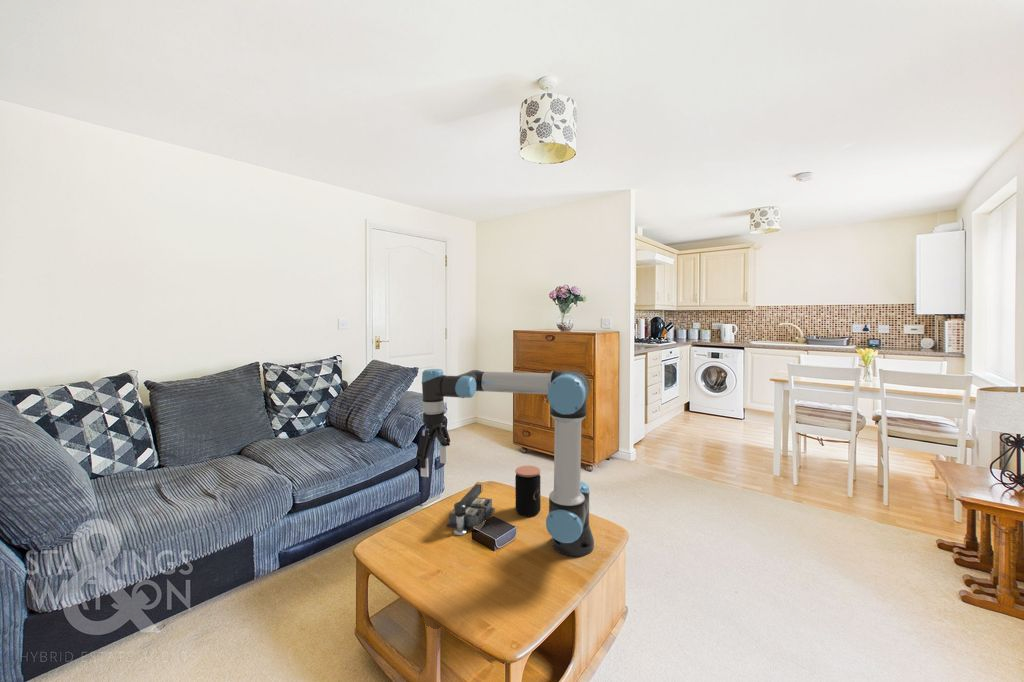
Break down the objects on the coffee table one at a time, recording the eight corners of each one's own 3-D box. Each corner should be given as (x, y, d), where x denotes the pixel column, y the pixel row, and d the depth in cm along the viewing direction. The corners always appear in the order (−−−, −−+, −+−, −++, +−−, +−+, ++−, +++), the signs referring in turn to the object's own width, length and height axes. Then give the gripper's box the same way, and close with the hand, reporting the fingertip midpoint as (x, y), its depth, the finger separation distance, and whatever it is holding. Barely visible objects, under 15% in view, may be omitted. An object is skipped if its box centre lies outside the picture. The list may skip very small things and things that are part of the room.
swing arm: (463, 516, 155) (462, 507, 155) (452, 515, 156) (452, 506, 156) (484, 491, 177) (484, 482, 177) (475, 489, 179) (475, 481, 178)
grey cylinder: (468, 529, 160) (468, 512, 159) (463, 536, 155) (463, 518, 154) (457, 528, 161) (456, 510, 161) (451, 534, 156) (451, 516, 156)
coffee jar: (537, 519, 168) (537, 476, 167) (512, 515, 171) (512, 473, 170) (542, 507, 178) (542, 466, 177) (519, 504, 181) (519, 464, 180)
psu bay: (494, 510, 176) (494, 497, 175) (479, 531, 158) (479, 517, 158) (464, 506, 180) (464, 493, 179) (446, 526, 162) (446, 512, 162)
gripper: (441, 404, 161) (442, 457, 162) (404, 419, 137) (406, 481, 139) (458, 405, 158) (459, 459, 160) (423, 421, 135) (425, 484, 136)
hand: (434, 469), depth 149 cm, fingers open, 13 cm apart
